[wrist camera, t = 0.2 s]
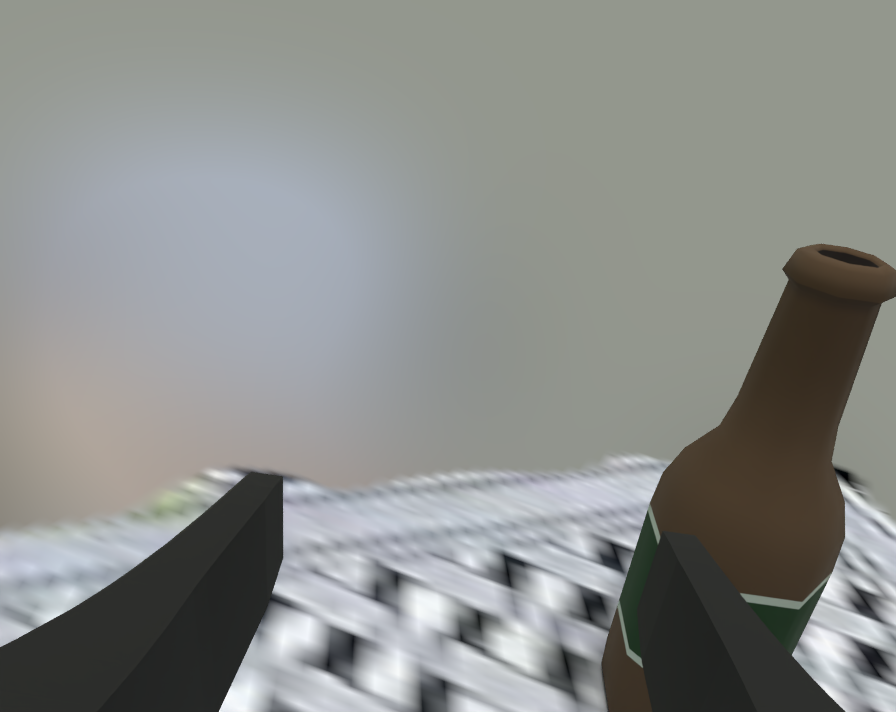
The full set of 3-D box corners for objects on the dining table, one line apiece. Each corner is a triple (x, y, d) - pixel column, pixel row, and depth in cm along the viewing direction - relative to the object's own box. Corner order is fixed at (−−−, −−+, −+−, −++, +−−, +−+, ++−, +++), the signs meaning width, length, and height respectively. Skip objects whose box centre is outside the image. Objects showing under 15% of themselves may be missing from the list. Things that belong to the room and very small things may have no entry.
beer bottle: (743, 809, 31) (997, 318, 20) (576, 725, 34) (724, 253, 23) (756, 681, 37) (955, 256, 27) (615, 618, 40) (745, 211, 30)
